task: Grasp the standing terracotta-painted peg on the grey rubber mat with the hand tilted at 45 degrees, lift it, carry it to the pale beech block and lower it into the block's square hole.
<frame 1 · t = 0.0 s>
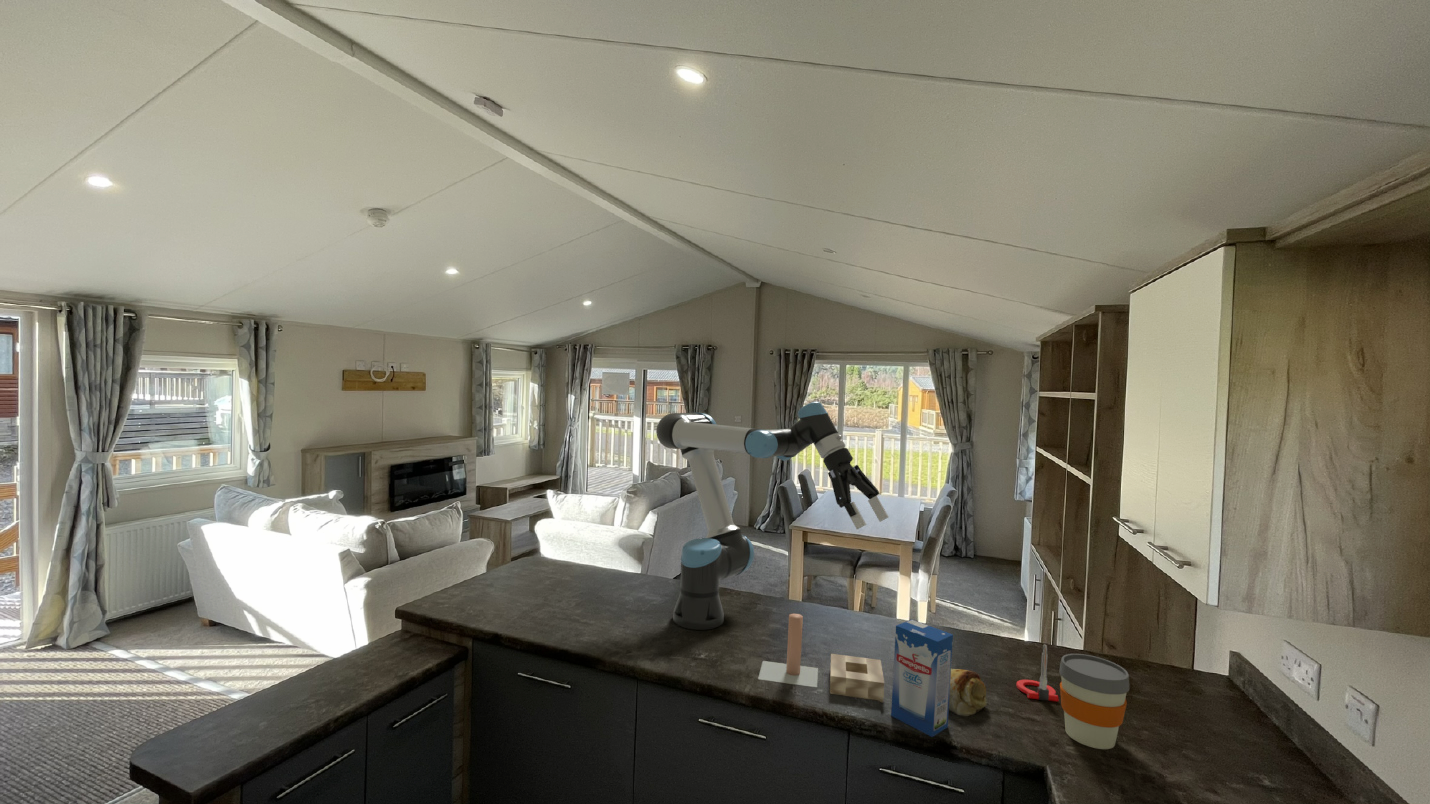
hand: (873, 523, 160), 36 cm above the worktop, tool tilted 35°, fingers open, 13 cm apart
peg: (793, 672, 150), resting on mat
pastry: (957, 701, 141), on the worktop
mat: (788, 675, 149), on the worktop
reusable coffee cup: (1089, 737, 128), on the worktop
tow hook: (1036, 692, 146), on the worktop
milk carton: (918, 722, 131), on the worktop
hole block: (855, 686, 145), on the worktop
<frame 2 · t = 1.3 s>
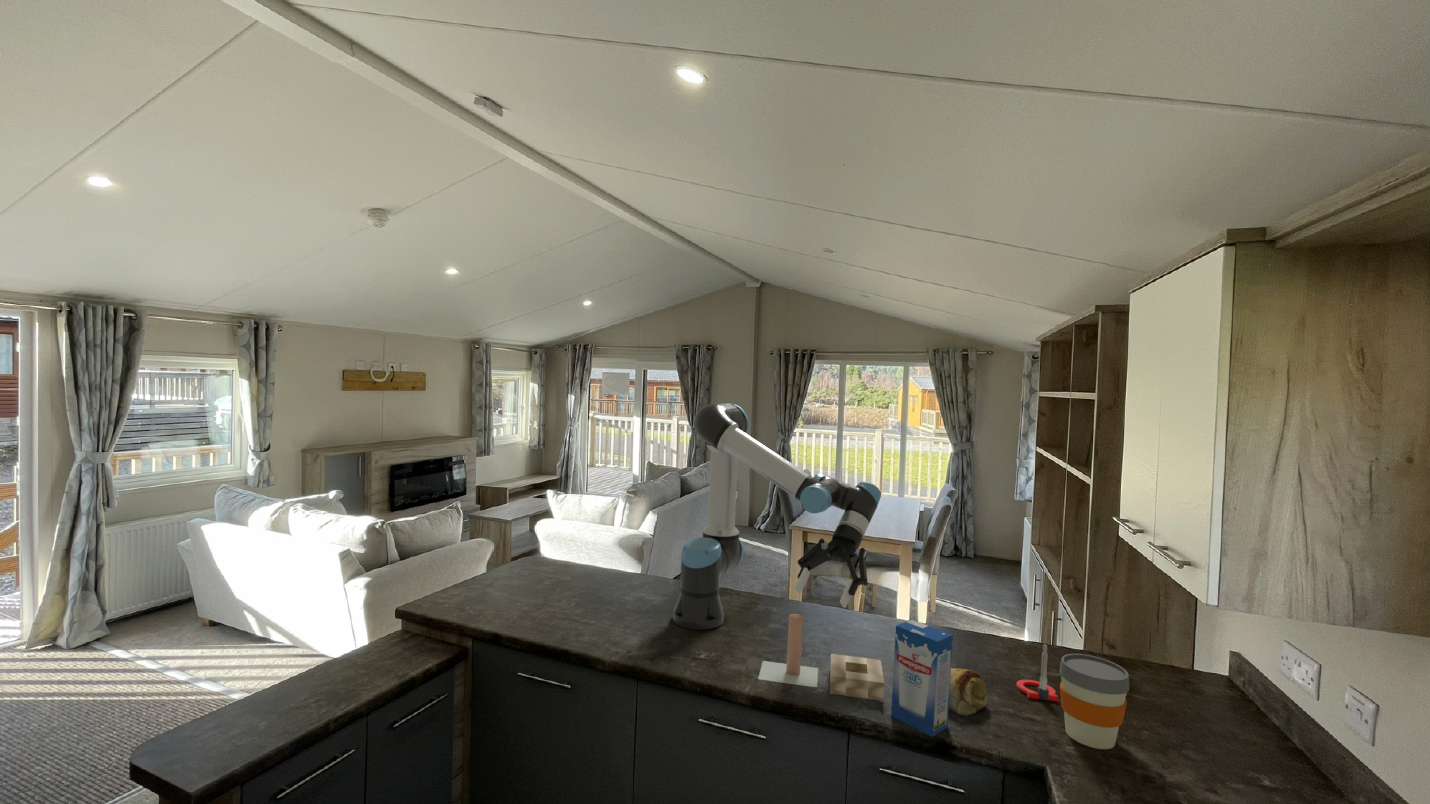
hand: (819, 597, 157), 16 cm above the worktop, tool tilted 45°, fingers open, 13 cm apart
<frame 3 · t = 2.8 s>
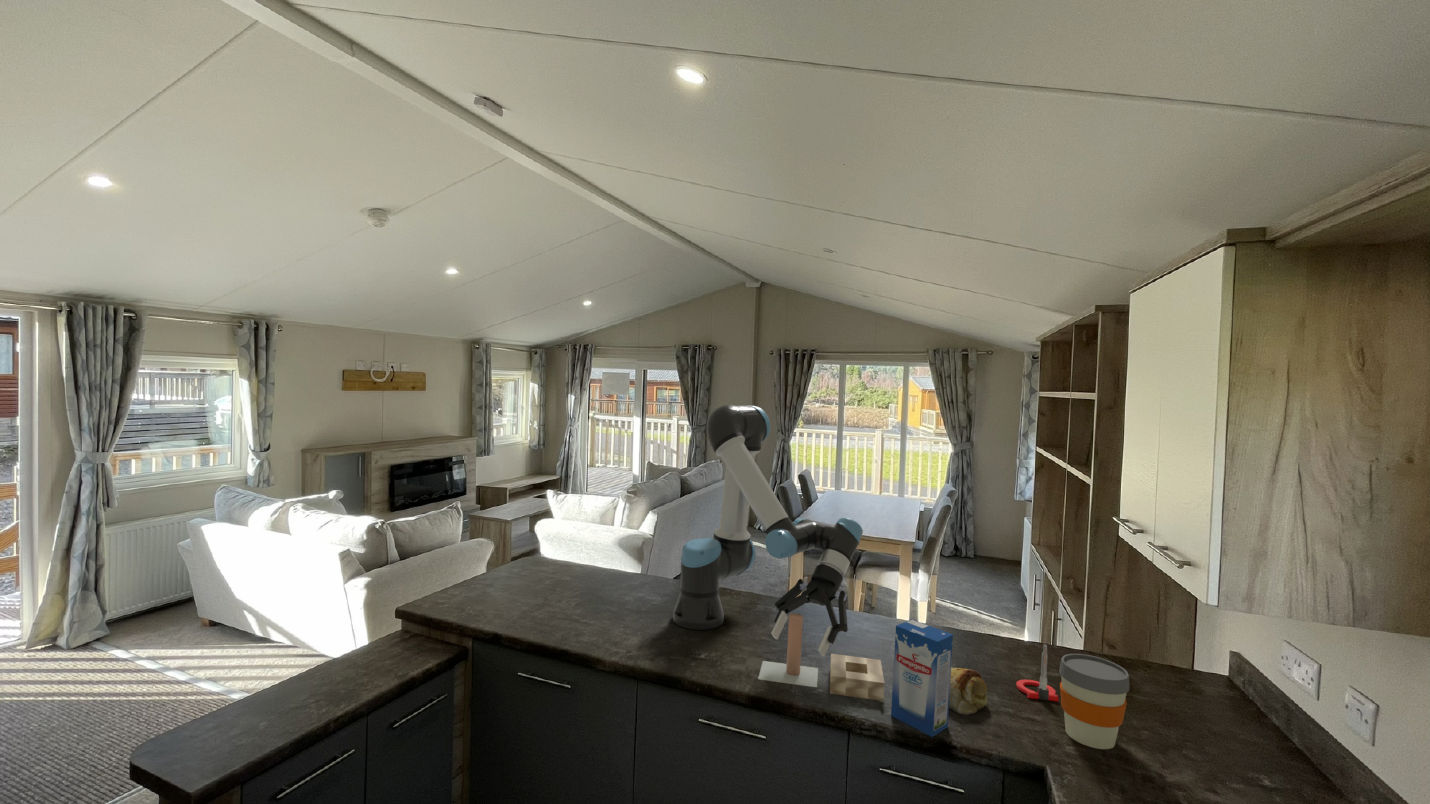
hand: (796, 644, 149), 8 cm above the worktop, tool tilted 45°, fingers open, 13 cm apart
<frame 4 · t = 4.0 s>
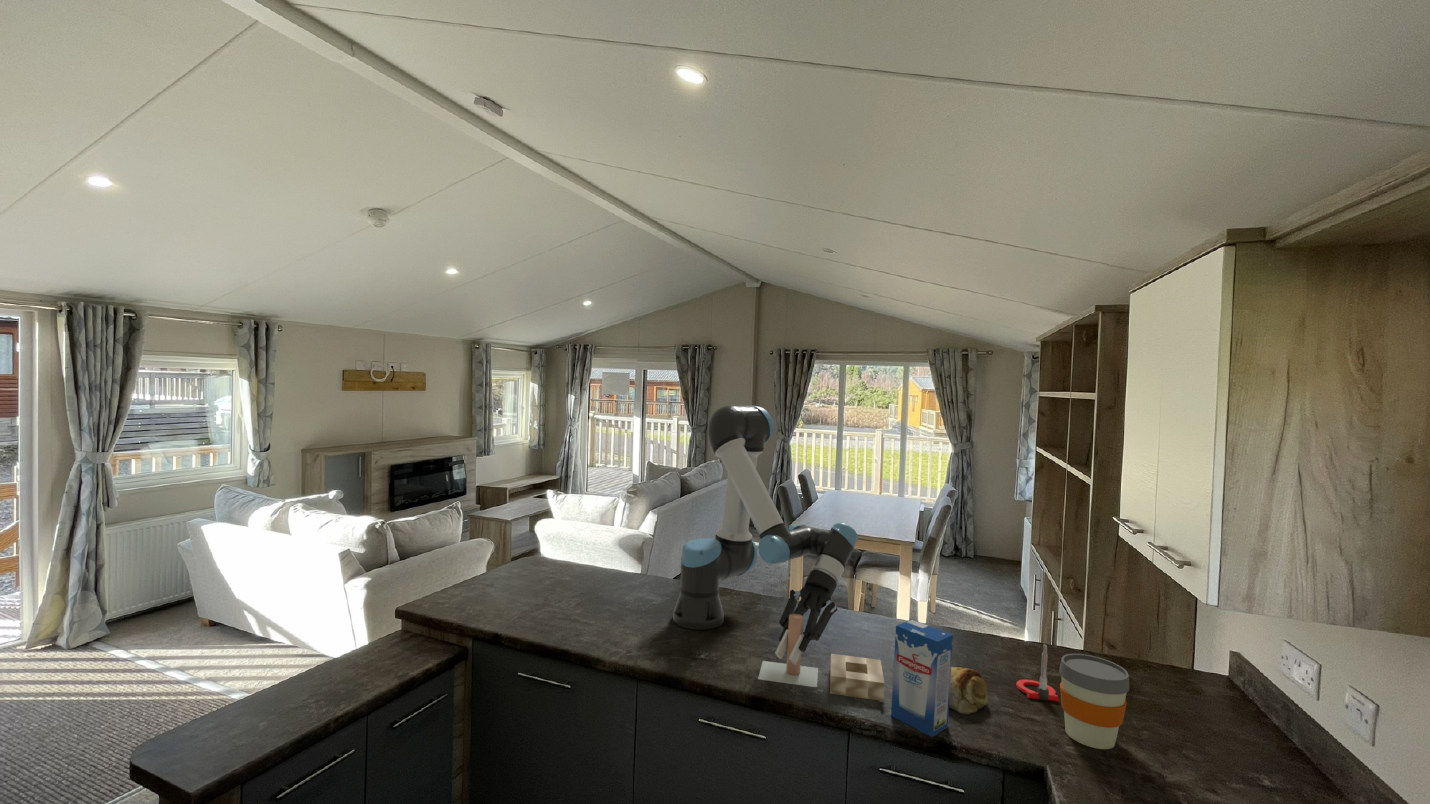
hand: (785, 658, 147), 5 cm above the worktop, tool tilted 45°, fingers closed on peg, 3 cm apart
peg: (793, 672, 150), resting on mat, touching gripper
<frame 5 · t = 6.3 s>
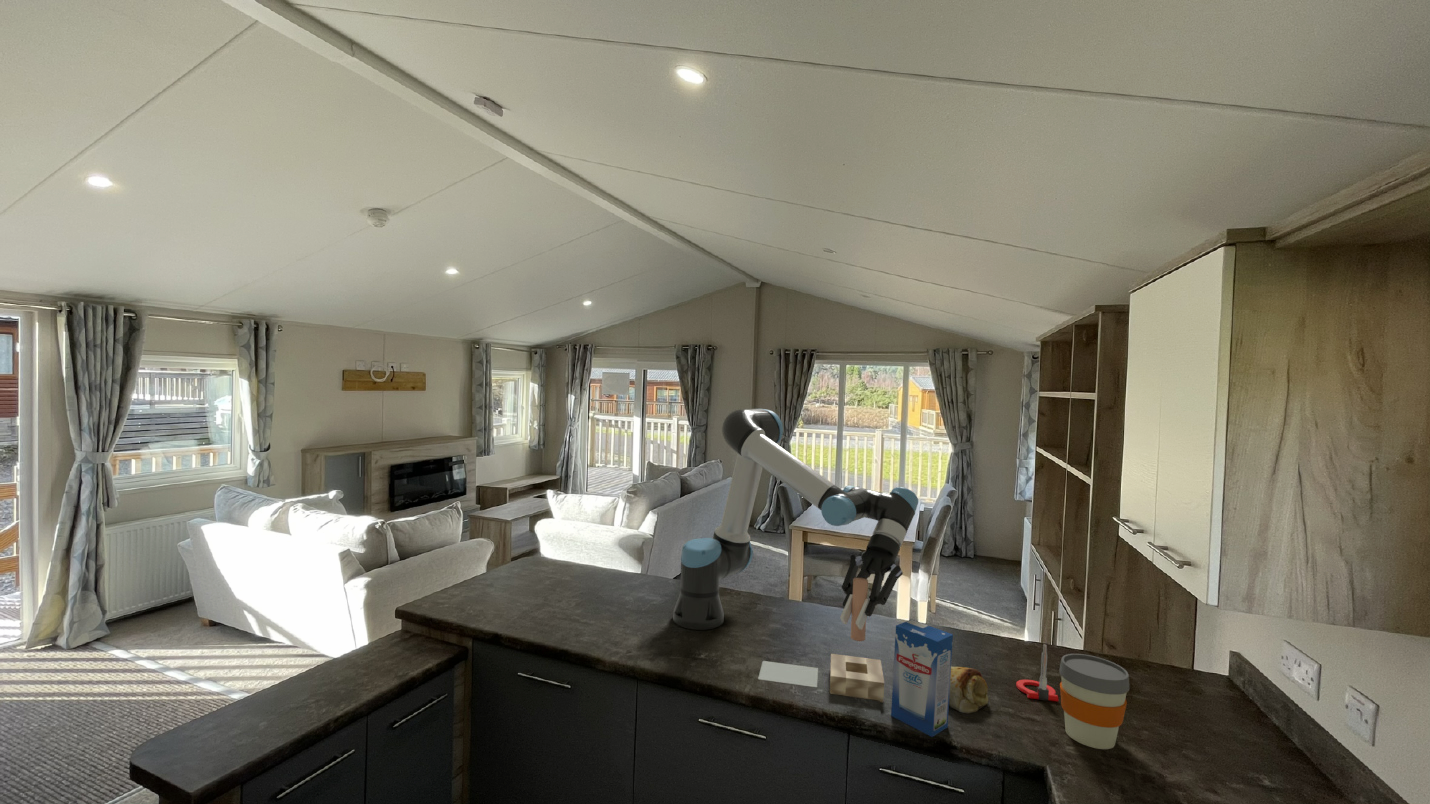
hand: (850, 623, 142), 16 cm above the worktop, tool tilted 45°, fingers closed on peg, 3 cm apart
peg: (857, 638, 145), point 12 cm above the worktop, touching gripper
when the fingers open (7 cm above the worktop, at t = 8.6 s): peg drops 2 cm, resting in hole block.
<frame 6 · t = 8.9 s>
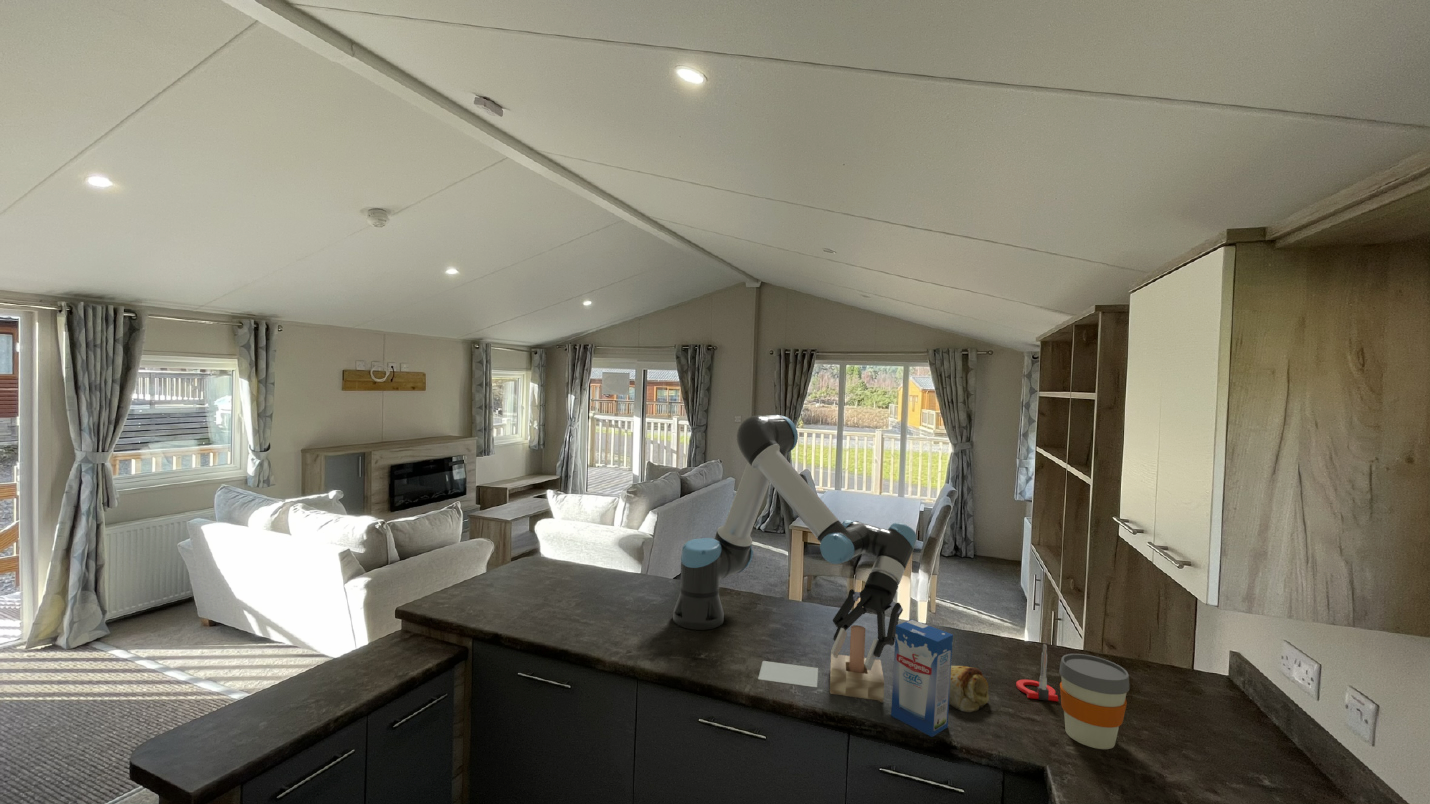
hand: (850, 661, 142), 7 cm above the worktop, tool tilted 45°, fingers open, 8 cm apart
peg: (855, 686, 145), resting in hole block
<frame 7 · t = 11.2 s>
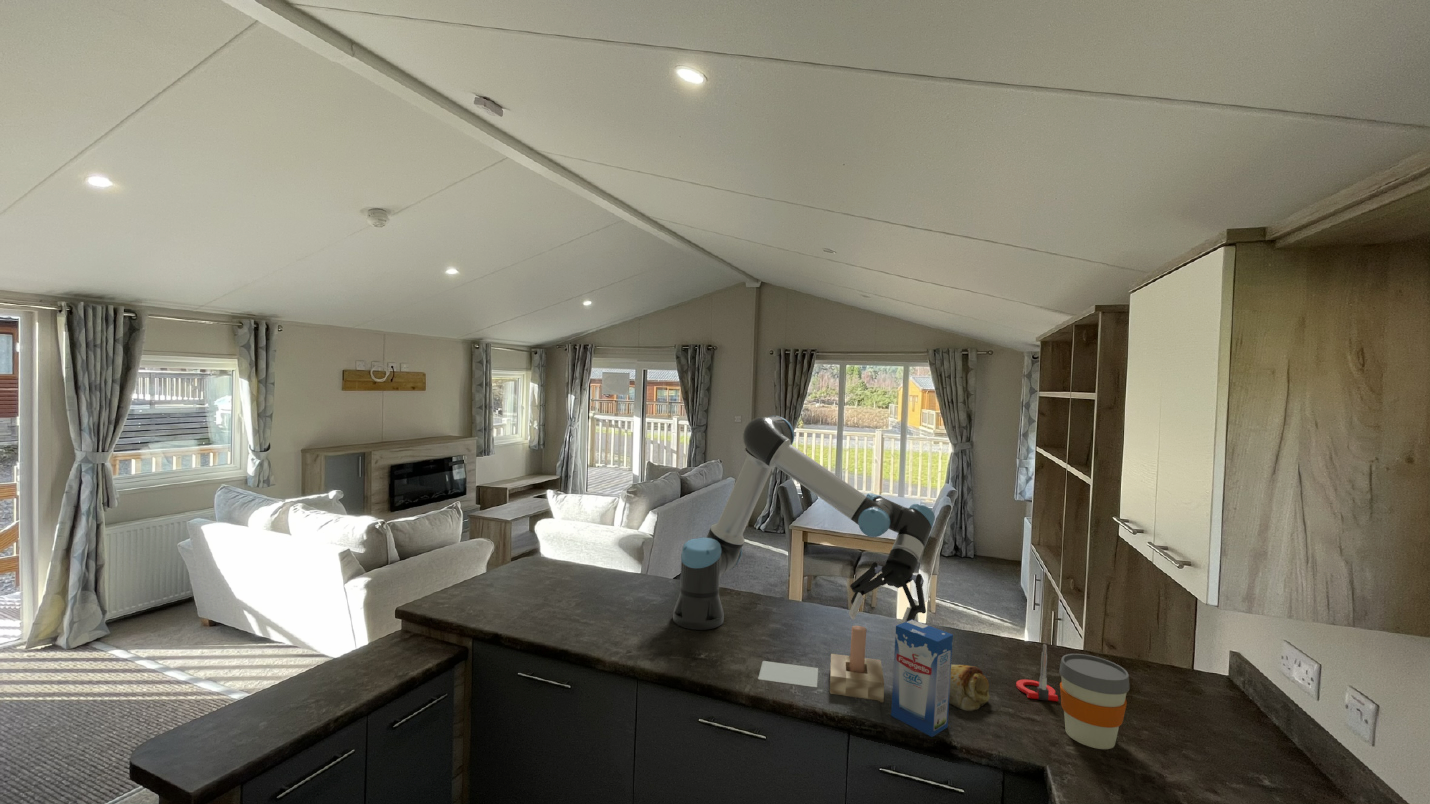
hand: (875, 624, 153), 12 cm above the worktop, tool tilted 45°, fingers open, 13 cm apart
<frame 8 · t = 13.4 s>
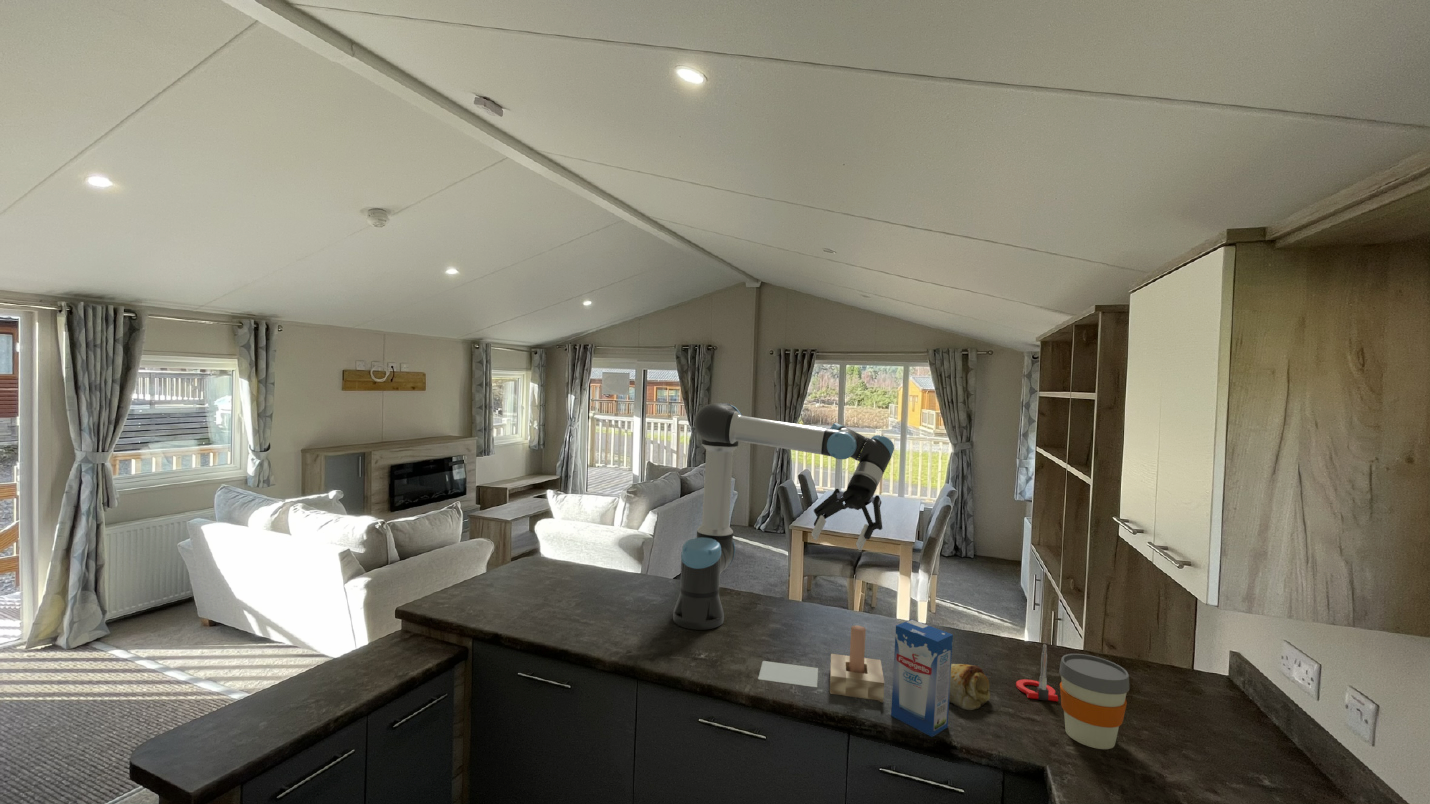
hand: (835, 542, 163), 30 cm above the worktop, tool tilted 45°, fingers open, 13 cm apart
at the end: peg 0.1 cm off-centre on the hole block, point 0.0 cm above the hole block's base; peg tilted 0°; the gripper is holding nothing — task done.
